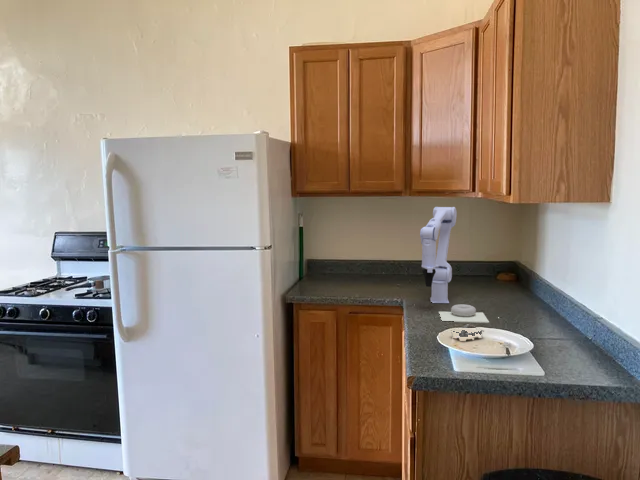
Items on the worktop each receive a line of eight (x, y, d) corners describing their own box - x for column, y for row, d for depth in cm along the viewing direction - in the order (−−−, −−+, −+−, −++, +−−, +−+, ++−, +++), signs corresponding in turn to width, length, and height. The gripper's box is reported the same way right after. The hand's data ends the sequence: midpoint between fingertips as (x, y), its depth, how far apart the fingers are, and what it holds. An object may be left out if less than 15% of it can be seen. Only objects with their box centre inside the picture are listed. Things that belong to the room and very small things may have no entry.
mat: (438, 312, 207) (438, 311, 207) (482, 313, 204) (482, 312, 204) (441, 321, 193) (441, 320, 193) (489, 322, 190) (489, 321, 190)
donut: (449, 311, 207) (452, 317, 197) (449, 303, 207) (452, 308, 197) (473, 311, 206) (477, 317, 196) (474, 303, 205) (478, 309, 196)
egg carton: (471, 333, 178) (471, 322, 178) (486, 339, 172) (486, 327, 171) (447, 337, 174) (448, 326, 174) (462, 343, 167) (462, 331, 167)
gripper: (440, 257, 200) (439, 290, 202) (437, 252, 214) (436, 283, 216) (422, 257, 201) (422, 289, 203) (420, 252, 215) (420, 282, 217)
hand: (428, 286), depth 209 cm, fingers closed
